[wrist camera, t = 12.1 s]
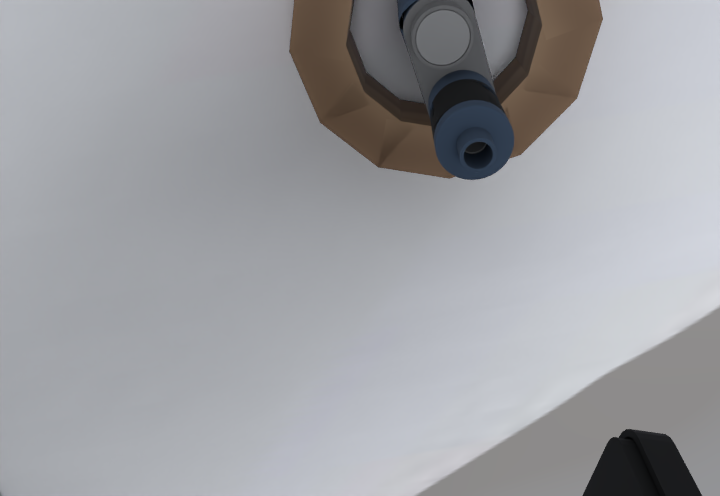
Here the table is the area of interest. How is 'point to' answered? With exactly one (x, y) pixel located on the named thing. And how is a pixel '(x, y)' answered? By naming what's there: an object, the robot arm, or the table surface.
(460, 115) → the vaping device
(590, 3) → the wooden ring
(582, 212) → the table surface
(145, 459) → the table surface
